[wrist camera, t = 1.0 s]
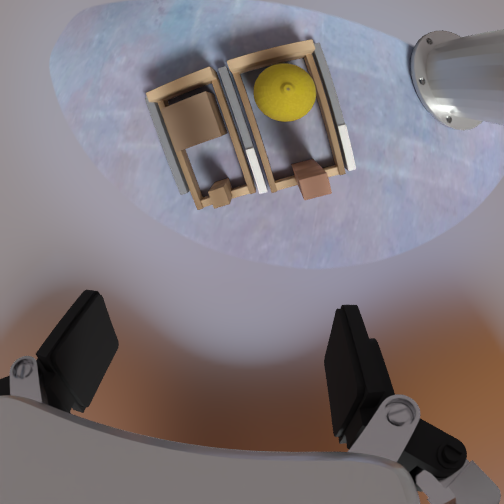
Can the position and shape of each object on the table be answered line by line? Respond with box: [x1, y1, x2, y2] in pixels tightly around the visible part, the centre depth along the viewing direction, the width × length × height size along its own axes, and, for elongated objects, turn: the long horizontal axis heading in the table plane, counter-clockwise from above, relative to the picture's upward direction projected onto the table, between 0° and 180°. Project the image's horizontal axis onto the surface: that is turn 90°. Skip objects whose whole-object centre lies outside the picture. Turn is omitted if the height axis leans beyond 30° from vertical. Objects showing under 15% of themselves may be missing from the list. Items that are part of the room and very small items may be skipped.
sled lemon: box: [227, 40, 346, 200], centre depth 24 cm, size 8×14×8 cm, turn 17°
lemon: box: [254, 63, 316, 122], centre depth 23 cm, size 6×6×8 cm
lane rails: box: [218, 43, 356, 194], centre depth 27 cm, size 10×14×2 cm
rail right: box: [145, 98, 190, 195], centre depth 28 cm, size 1×11×2 cm, turn 17°
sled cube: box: [146, 67, 256, 210], centre depth 27 cm, size 6×14×4 cm, turn 17°
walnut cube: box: [161, 91, 227, 152], centre depth 26 cm, size 4×4×4 cm
